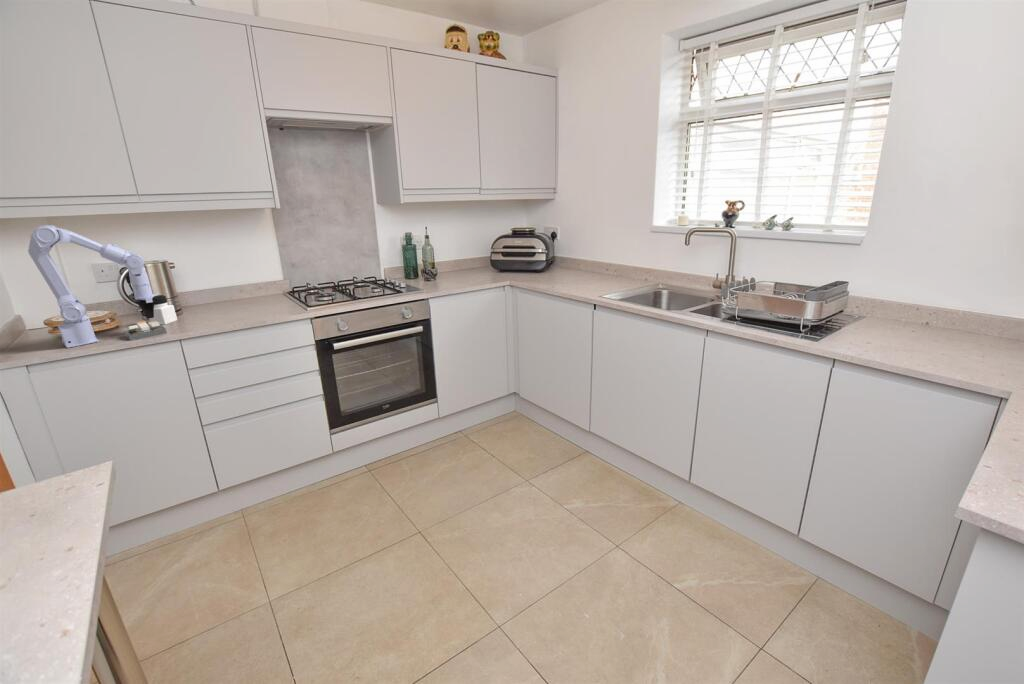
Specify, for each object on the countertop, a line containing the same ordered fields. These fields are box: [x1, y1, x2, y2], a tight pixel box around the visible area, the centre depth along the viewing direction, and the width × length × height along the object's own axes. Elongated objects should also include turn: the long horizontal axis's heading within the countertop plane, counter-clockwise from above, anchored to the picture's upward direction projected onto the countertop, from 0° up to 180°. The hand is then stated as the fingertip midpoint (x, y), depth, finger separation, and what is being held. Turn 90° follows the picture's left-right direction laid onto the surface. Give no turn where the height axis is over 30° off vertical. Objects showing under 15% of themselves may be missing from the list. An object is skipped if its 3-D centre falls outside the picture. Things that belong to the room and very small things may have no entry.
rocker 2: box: [136, 320, 150, 331], centre depth 188 cm, size 3×6×1 cm, turn 48°
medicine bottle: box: [148, 294, 178, 326], centre depth 205 cm, size 7×7×12 cm
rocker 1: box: [126, 324, 139, 331], centre depth 185 cm, size 3×6×1 cm, turn 48°
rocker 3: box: [147, 321, 160, 327], centre depth 190 cm, size 3×6×1 cm, turn 48°
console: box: [122, 325, 168, 341], centre depth 189 cm, size 12×10×2 cm
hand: (150, 317), depth 191 cm, fingers closed
